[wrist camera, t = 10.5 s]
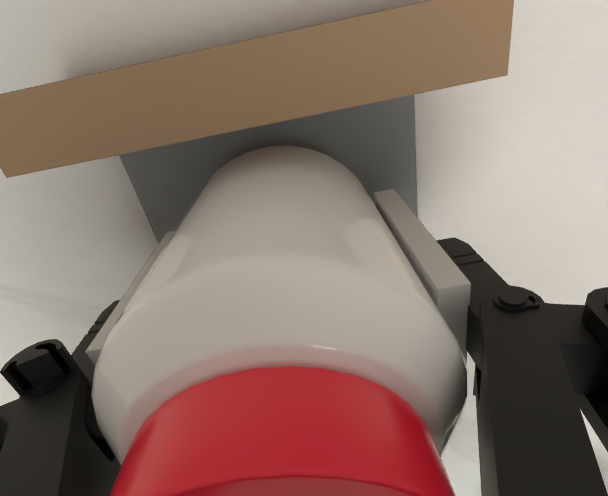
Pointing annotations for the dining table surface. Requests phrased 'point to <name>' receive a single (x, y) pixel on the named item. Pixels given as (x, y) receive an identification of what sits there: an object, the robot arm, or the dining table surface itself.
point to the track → (262, 102)
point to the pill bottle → (281, 347)
